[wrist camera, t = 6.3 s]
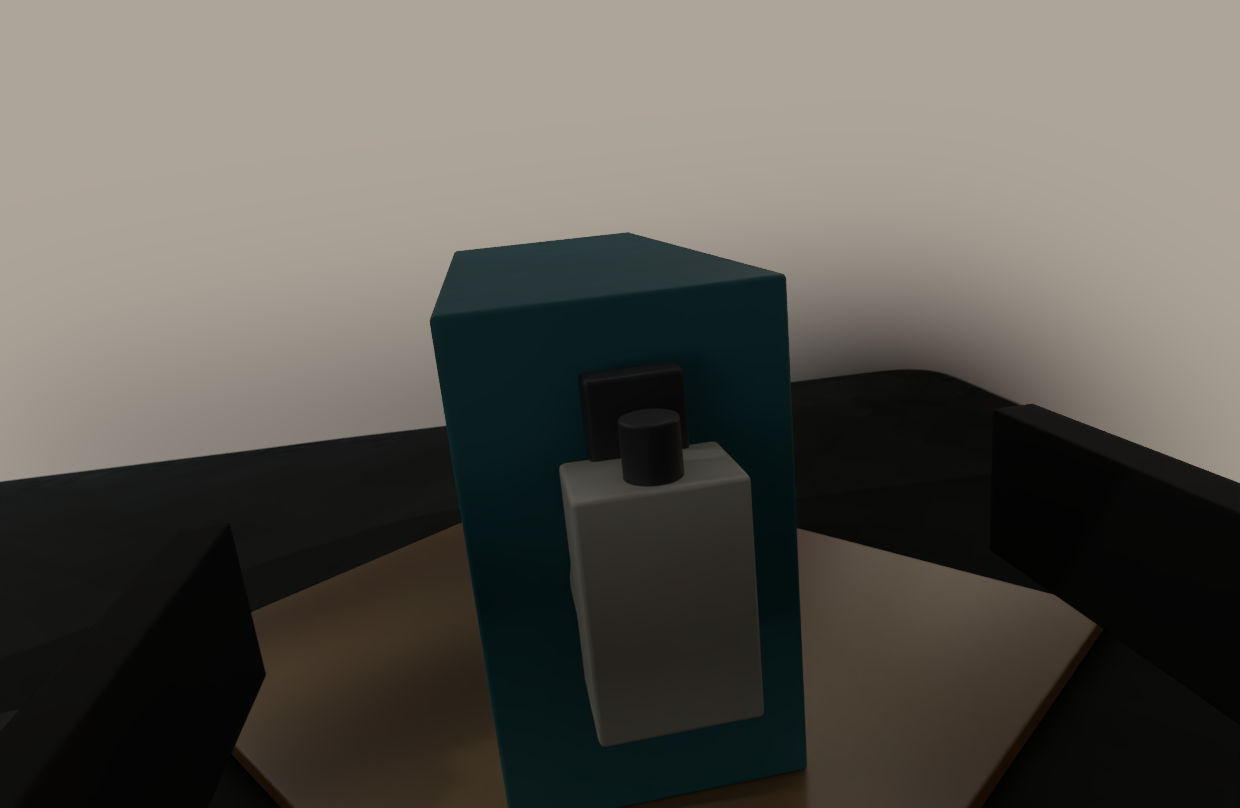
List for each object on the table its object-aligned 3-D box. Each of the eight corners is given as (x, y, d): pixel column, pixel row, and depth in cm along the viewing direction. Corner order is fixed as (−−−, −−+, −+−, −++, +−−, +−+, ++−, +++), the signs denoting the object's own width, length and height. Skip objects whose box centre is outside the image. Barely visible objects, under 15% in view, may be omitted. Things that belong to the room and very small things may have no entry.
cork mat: (152, 670, 24) (148, 655, 24) (581, 482, 35) (580, 471, 35) (683, 1245, 10) (680, 1216, 10) (1107, 625, 21) (1108, 608, 21)
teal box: (494, 527, 30) (453, 251, 27) (654, 502, 31) (629, 231, 28) (518, 964, 13) (416, 348, 10) (873, 882, 14) (861, 292, 11)
